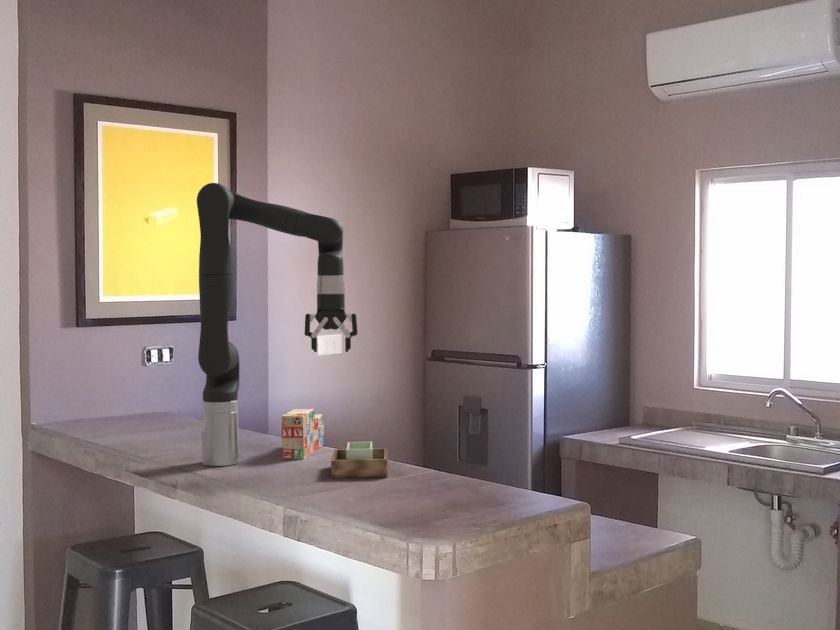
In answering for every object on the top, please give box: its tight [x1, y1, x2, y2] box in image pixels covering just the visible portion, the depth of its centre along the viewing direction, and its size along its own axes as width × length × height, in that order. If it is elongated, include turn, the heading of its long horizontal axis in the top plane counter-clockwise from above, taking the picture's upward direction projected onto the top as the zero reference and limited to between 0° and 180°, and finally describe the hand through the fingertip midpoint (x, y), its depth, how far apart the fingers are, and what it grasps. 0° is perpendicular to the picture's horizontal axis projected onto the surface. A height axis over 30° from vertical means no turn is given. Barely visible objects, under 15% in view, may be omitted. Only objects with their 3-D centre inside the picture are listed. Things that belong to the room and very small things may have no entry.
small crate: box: [345, 441, 373, 460], centre depth 245 cm, size 6×10×6 cm, turn 2°
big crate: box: [330, 447, 389, 479], centre depth 245 cm, size 14×15×4 cm
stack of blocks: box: [281, 408, 325, 460], centre depth 272 cm, size 21×6×12 cm, turn 170°
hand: (331, 351), depth 259 cm, fingers open, 8 cm apart
